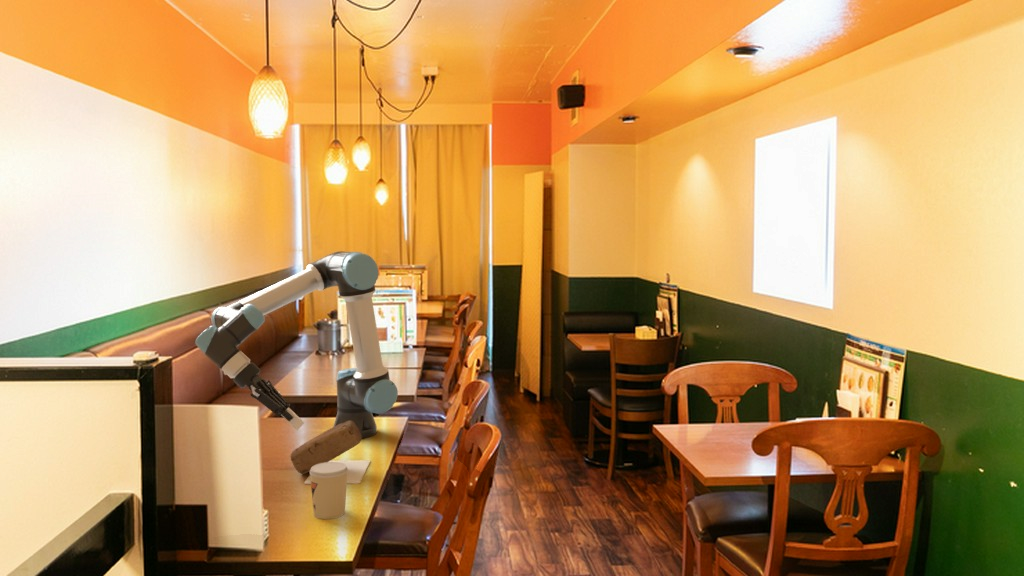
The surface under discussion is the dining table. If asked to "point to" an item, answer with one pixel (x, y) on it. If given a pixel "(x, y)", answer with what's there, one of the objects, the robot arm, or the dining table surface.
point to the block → (326, 446)
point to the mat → (351, 471)
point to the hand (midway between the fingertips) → (300, 426)
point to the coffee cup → (328, 489)
